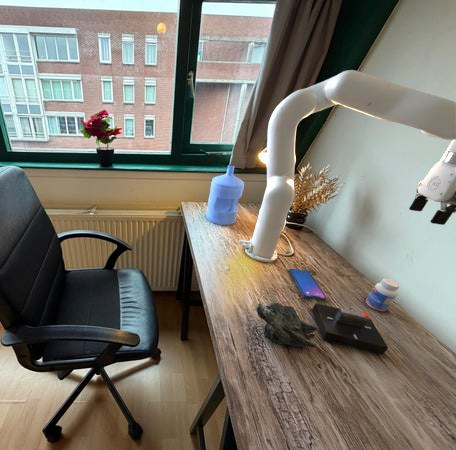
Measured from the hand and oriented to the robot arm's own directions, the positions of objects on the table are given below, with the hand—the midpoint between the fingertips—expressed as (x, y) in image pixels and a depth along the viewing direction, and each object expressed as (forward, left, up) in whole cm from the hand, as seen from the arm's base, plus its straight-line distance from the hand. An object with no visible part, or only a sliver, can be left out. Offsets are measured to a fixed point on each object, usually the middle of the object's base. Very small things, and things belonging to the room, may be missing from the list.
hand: (425, 216), depth 75 cm
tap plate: (-20, -27, -28) cm, 44 cm away
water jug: (-58, +33, -28) cm, 73 cm away
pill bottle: (-6, -12, -28) cm, 31 cm away
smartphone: (-26, -9, -28) cm, 39 cm away
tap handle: (-20, -27, -25) cm, 42 cm away
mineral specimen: (-38, -35, -28) cm, 59 cm away
